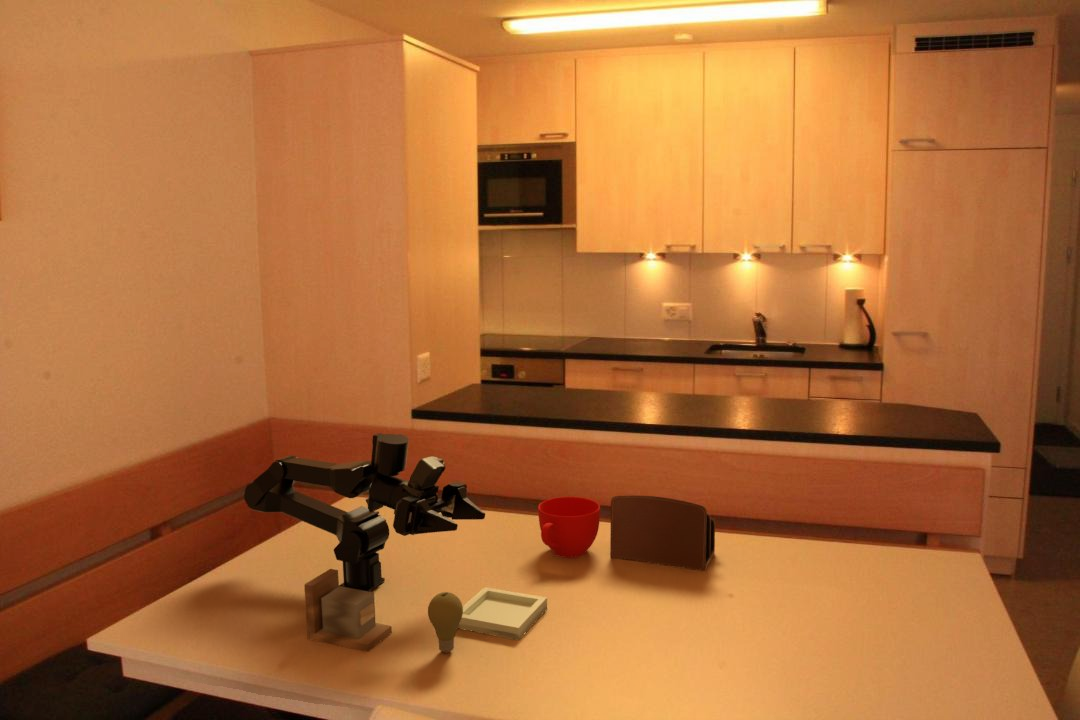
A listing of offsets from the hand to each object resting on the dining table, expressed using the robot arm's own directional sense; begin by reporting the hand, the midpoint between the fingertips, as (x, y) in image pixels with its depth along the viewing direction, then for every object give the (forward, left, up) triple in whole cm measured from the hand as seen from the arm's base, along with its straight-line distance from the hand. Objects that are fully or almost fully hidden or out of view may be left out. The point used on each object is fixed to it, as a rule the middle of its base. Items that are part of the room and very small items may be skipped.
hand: (471, 521), depth 147 cm
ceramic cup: (+6, +30, -17) cm, 35 cm away
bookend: (-15, -16, -17) cm, 27 cm away
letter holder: (+25, +37, -17) cm, 48 cm away
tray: (+6, -1, -17) cm, 18 cm away
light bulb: (+3, -15, -17) cm, 23 cm away
